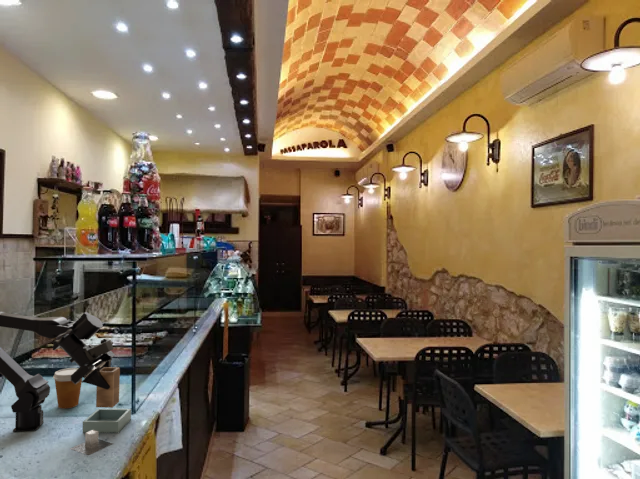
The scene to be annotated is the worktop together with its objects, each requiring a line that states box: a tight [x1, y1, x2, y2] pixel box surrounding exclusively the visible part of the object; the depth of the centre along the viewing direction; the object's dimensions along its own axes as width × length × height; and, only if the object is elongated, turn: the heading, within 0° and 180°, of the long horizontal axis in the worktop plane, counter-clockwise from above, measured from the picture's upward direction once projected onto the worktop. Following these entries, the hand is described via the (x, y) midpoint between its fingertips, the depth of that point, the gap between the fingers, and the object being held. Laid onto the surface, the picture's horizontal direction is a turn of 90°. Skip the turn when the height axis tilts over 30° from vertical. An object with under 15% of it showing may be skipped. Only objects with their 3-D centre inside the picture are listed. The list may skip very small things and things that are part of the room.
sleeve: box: [95, 366, 121, 409], centre depth 145 cm, size 5×5×11 cm
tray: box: [82, 408, 132, 434], centre depth 146 cm, size 11×11×4 cm
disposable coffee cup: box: [52, 367, 83, 410], centre depth 164 cm, size 10×10×12 cm
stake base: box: [69, 430, 114, 456], centre depth 132 cm, size 8×8×5 cm
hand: (112, 385), depth 145 cm, fingers closed on sleeve, 5 cm apart
